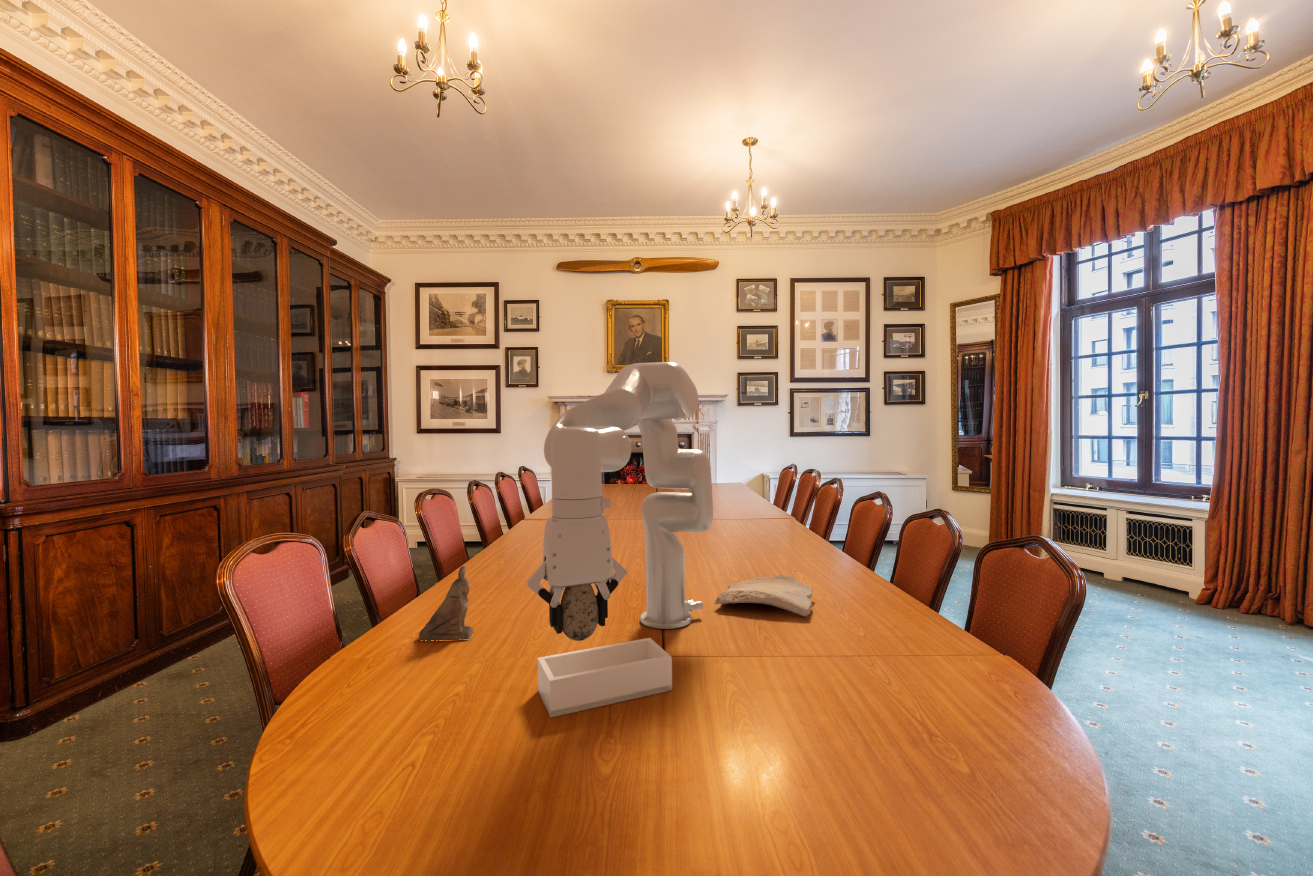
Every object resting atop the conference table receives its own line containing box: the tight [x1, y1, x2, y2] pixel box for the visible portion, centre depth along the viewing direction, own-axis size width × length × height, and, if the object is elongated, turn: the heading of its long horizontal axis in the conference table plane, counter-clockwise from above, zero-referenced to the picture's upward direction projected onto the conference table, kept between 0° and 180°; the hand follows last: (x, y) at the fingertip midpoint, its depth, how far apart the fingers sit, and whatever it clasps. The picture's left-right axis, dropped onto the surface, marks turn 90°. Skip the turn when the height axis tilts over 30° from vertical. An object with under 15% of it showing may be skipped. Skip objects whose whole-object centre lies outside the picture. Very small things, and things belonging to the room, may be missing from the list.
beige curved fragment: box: [714, 574, 814, 617], centre depth 144 cm, size 24×8×20 cm
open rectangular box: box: [537, 637, 673, 718], centre depth 96 cm, size 22×10×6 cm, turn 114°
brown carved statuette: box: [418, 565, 475, 642], centre depth 123 cm, size 12×6×18 cm, turn 87°
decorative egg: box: [560, 584, 599, 642], centre depth 81 cm, size 6×6×10 cm
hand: (579, 625), depth 81 cm, fingers closed on decorative egg, 6 cm apart
